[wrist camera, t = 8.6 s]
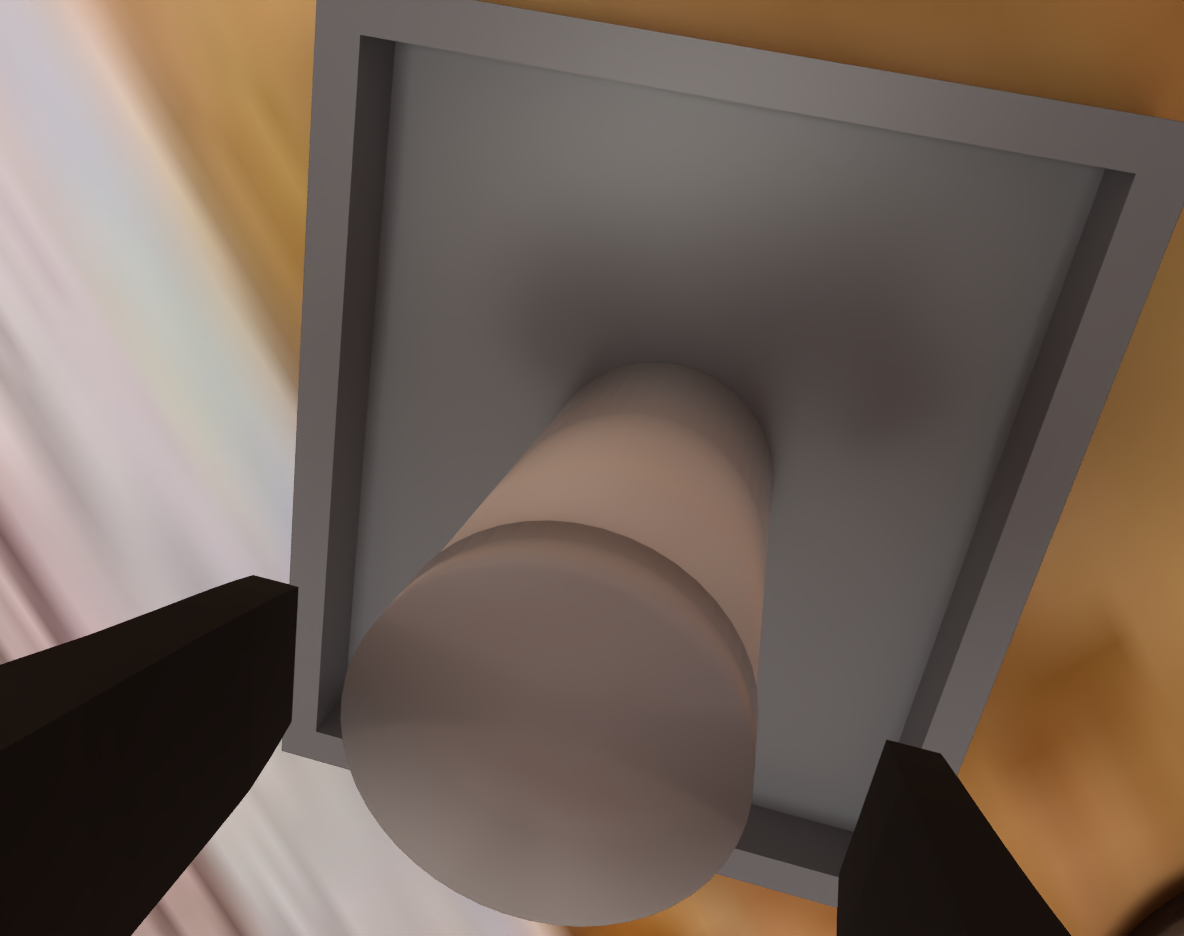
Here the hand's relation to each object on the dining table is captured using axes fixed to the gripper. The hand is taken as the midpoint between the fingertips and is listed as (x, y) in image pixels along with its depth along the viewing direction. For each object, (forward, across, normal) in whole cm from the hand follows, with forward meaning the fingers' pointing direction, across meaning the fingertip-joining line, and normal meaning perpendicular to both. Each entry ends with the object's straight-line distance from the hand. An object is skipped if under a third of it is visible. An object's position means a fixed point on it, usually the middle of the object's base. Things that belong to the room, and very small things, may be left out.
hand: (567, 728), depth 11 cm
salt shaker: (+8, 0, 0) cm, 8 cm away
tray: (+9, 0, 0) cm, 9 cm away
